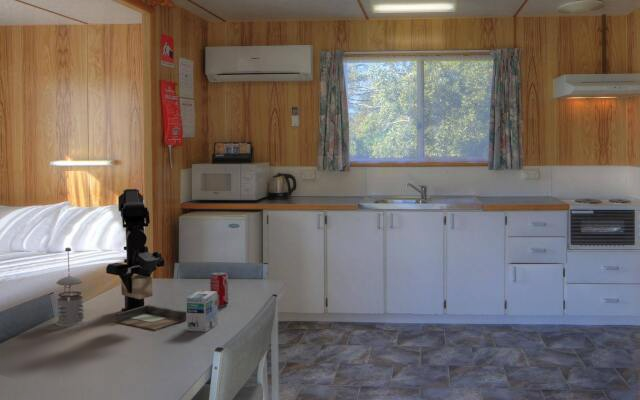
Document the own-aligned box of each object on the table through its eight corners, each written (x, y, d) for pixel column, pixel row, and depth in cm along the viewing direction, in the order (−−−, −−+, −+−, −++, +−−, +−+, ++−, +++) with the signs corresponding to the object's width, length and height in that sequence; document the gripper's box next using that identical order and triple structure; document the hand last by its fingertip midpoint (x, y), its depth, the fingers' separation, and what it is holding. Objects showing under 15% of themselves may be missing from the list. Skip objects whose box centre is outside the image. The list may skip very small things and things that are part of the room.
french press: (57, 328, 218) (53, 250, 216) (52, 319, 228) (49, 245, 226) (89, 324, 223) (86, 248, 220) (83, 315, 233) (80, 243, 231)
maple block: (139, 299, 213) (139, 280, 212) (121, 294, 218) (121, 276, 218) (152, 296, 217) (152, 277, 216) (135, 291, 222) (134, 273, 222)
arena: (116, 322, 224) (115, 313, 224) (148, 313, 236) (148, 304, 235) (155, 330, 214) (154, 321, 214) (186, 320, 226) (186, 311, 226)
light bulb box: (206, 332, 212) (206, 298, 211) (186, 331, 213) (185, 297, 212) (218, 323, 222) (217, 290, 221) (199, 322, 224) (198, 290, 223)
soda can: (207, 307, 244) (206, 273, 243) (216, 303, 250) (215, 270, 248) (222, 308, 241) (221, 275, 240) (231, 304, 247) (230, 271, 246)
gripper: (126, 250, 203) (128, 301, 205) (175, 242, 218) (176, 289, 220) (104, 246, 210) (106, 296, 212) (153, 238, 225) (154, 284, 227)
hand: (137, 291), depth 217 cm, fingers closed on maple block, 5 cm apart
